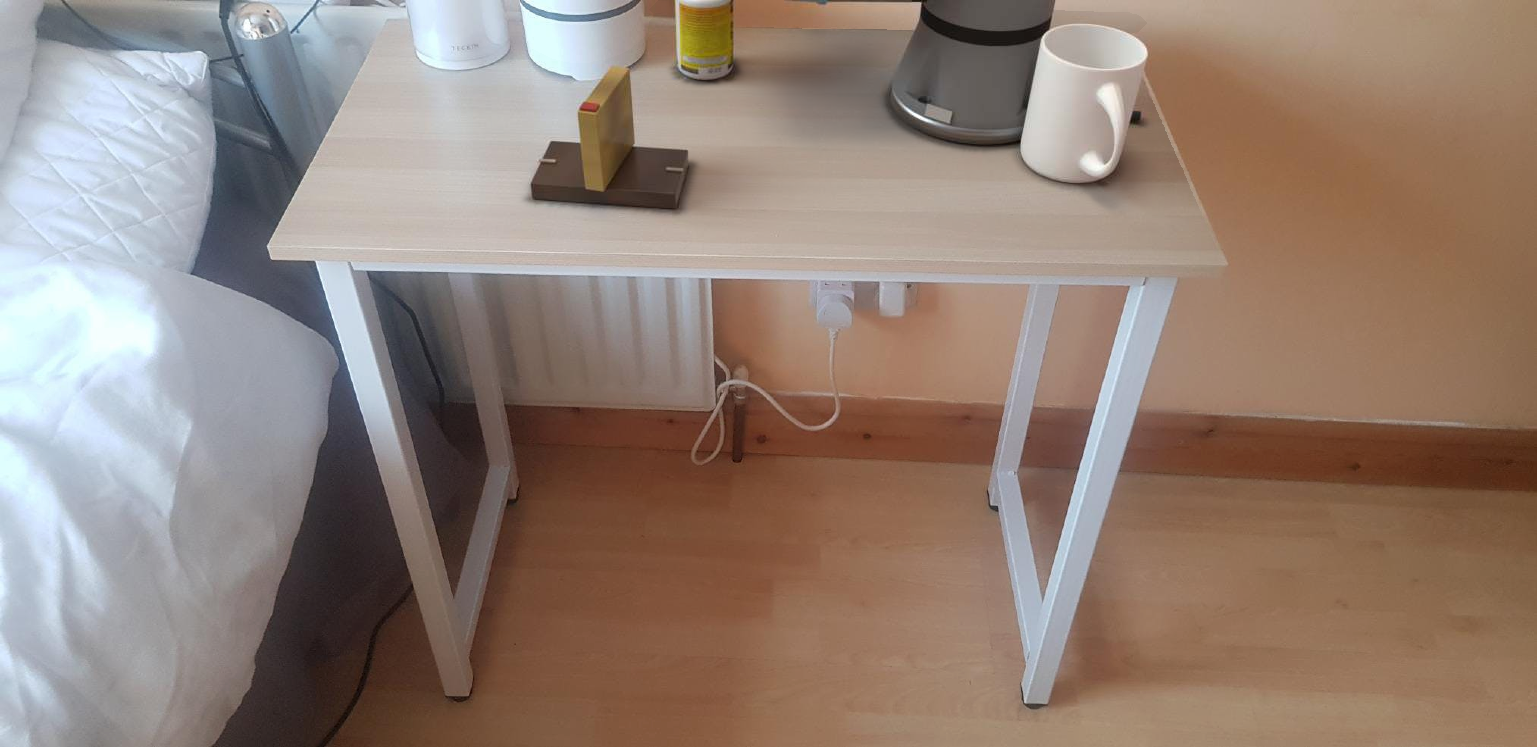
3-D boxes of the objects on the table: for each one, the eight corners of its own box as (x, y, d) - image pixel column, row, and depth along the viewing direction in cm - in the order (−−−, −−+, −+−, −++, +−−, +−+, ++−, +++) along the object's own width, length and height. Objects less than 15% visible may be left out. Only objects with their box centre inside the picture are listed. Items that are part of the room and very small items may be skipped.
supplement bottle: (741, 77, 106) (741, -26, 99) (686, 86, 105) (683, -18, 98) (723, 53, 110) (722, -48, 103) (670, 61, 109) (666, -41, 102)
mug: (1052, 212, 90) (1080, 93, 82) (1005, 138, 98) (1026, 26, 91) (1149, 204, 91) (1185, 87, 84) (1094, 132, 100) (1122, 20, 92)
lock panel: (689, 164, 94) (689, 148, 93) (677, 209, 89) (676, 192, 88) (551, 155, 95) (549, 138, 94) (531, 199, 89) (528, 181, 88)
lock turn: (617, 140, 94) (611, 62, 89) (635, 143, 93) (629, 65, 89) (585, 189, 88) (576, 108, 83) (603, 192, 88) (596, 111, 83)
